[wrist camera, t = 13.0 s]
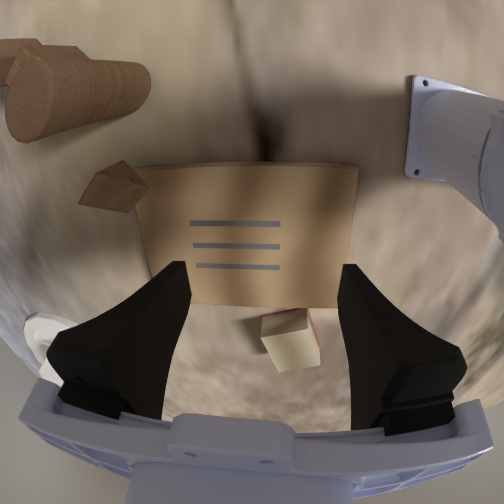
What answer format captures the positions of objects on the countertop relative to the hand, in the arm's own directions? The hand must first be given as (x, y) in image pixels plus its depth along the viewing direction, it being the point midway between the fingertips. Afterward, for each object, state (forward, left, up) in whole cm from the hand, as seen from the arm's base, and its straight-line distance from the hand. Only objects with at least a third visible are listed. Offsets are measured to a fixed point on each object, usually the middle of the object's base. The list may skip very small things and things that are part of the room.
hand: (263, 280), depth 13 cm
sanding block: (-2, +15, -11) cm, 18 cm away
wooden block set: (+13, -9, -10) cm, 19 cm away
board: (+2, +4, -10) cm, 11 cm away
